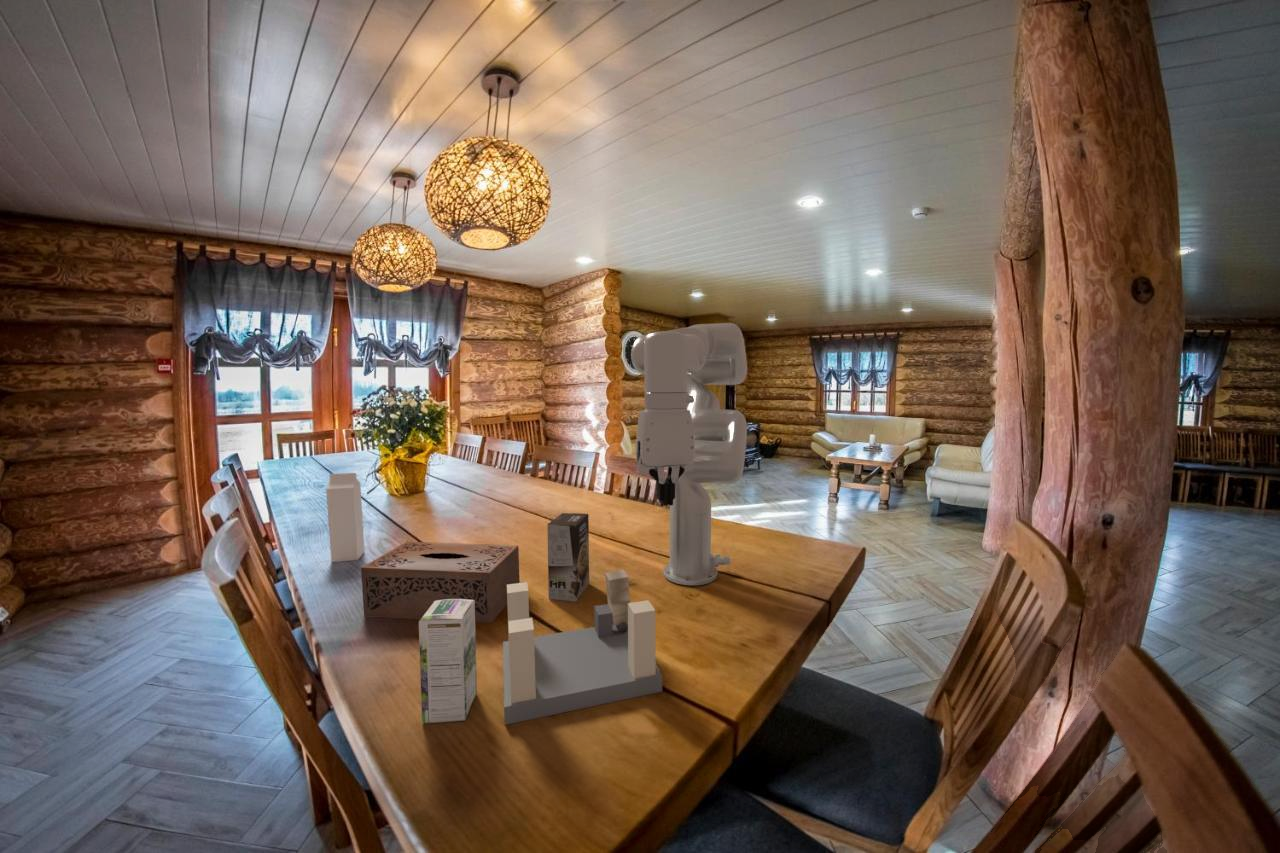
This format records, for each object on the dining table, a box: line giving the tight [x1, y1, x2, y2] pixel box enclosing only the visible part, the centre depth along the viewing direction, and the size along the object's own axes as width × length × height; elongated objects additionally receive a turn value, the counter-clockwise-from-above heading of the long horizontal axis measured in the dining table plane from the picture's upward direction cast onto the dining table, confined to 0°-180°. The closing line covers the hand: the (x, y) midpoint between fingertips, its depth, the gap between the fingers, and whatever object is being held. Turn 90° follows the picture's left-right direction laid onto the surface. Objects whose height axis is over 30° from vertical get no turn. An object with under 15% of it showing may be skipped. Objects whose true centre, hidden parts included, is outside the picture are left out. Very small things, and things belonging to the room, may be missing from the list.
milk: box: [325, 472, 366, 563], centre depth 118 cm, size 6×6×22 cm
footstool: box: [502, 581, 663, 726], centre depth 71 cm, size 22×16×12 cm
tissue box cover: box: [360, 541, 521, 624], centre depth 95 cm, size 26×14×10 cm, turn 84°
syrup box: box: [418, 599, 478, 724], centre depth 63 cm, size 6×6×14 cm
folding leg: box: [604, 569, 631, 633], centre depth 79 cm, size 3×4×10 cm
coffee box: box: [547, 512, 590, 603], centre depth 99 cm, size 9×6×16 cm
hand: (665, 503), depth 84 cm, fingers closed
